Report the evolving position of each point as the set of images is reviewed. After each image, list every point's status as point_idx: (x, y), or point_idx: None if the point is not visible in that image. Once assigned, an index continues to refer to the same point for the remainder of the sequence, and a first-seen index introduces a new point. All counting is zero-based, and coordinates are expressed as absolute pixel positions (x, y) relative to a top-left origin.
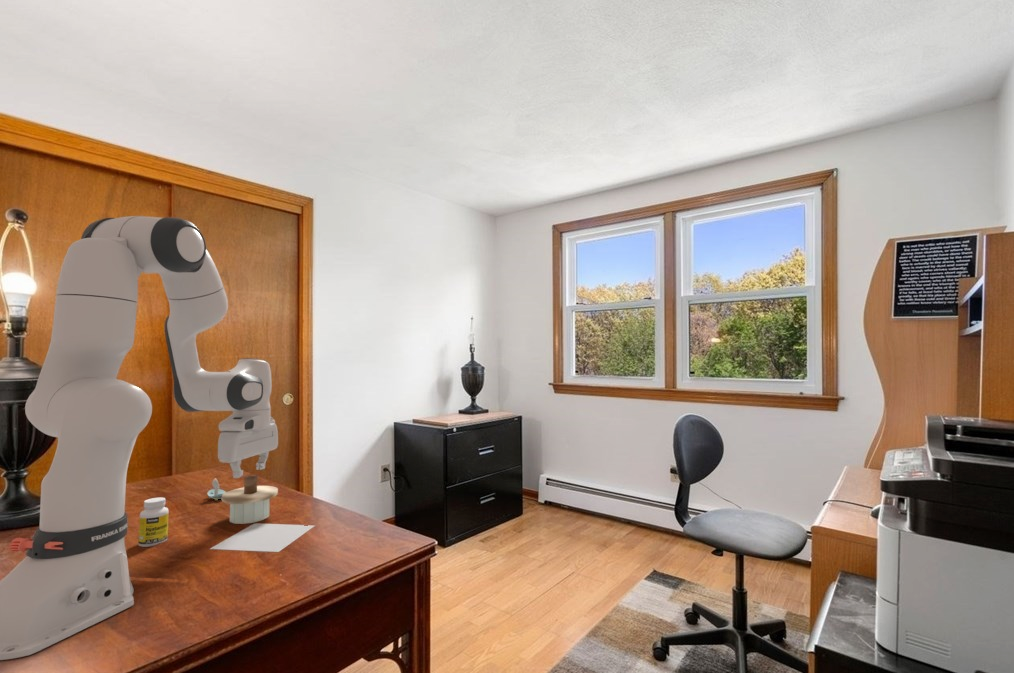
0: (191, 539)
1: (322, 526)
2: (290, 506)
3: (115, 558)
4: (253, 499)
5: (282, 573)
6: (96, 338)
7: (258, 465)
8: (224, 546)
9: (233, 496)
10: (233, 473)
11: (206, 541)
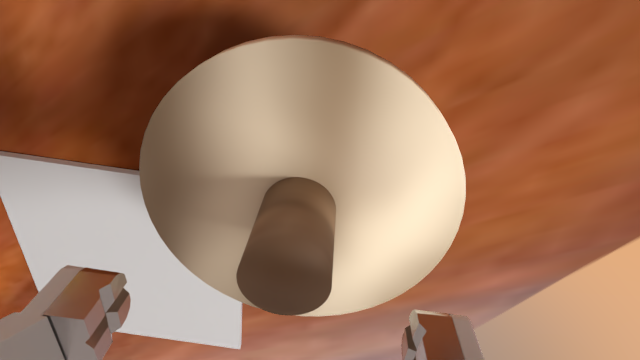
0: (47, 6)
1: (252, 354)
2: (481, 229)
3: None
4: (186, 261)
5: None
6: None
7: (417, 354)
8: (20, 189)
9: (202, 151)
10: (41, 295)
11: (53, 88)
